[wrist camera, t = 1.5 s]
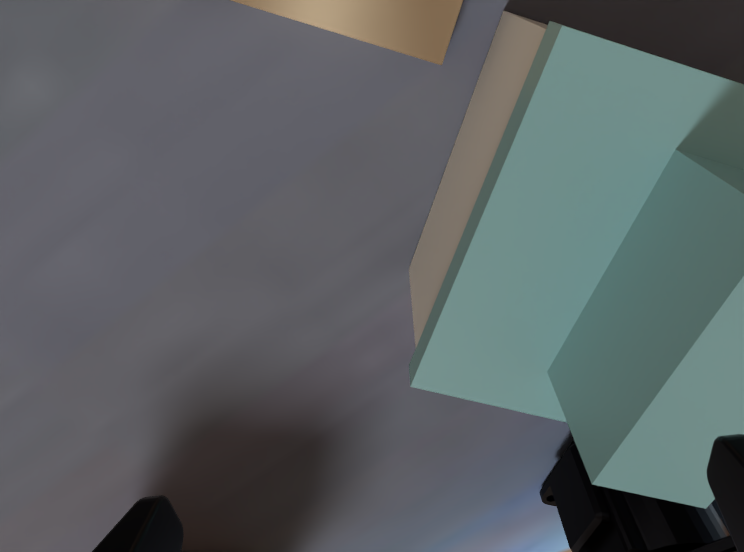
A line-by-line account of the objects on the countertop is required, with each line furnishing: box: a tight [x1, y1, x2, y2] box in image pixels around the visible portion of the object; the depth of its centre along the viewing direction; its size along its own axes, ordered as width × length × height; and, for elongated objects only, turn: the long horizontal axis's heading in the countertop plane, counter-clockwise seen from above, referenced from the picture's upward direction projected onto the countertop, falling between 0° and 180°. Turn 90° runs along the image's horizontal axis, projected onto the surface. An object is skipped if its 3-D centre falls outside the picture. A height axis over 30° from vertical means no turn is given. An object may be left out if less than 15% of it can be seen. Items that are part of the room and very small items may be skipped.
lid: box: [409, 21, 744, 509], centre depth 14 cm, size 10×10×6 cm
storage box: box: [409, 11, 548, 347], centre depth 18 cm, size 10×10×6 cm
